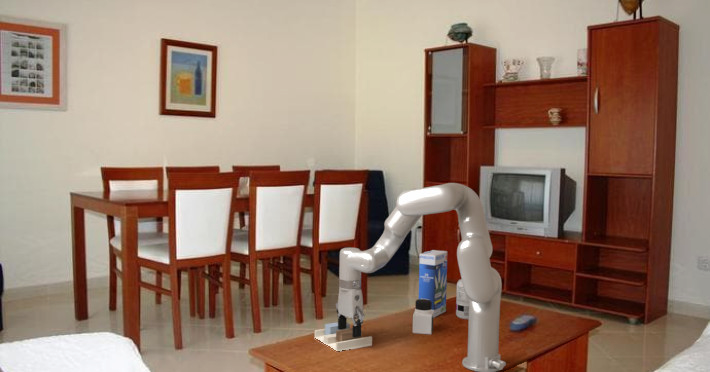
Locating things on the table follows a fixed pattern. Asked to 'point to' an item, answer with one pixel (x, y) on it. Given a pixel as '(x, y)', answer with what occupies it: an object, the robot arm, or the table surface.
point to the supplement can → (462, 302)
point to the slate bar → (333, 328)
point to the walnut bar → (345, 335)
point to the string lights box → (433, 279)
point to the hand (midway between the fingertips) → (349, 332)
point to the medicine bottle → (423, 317)
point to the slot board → (342, 345)
